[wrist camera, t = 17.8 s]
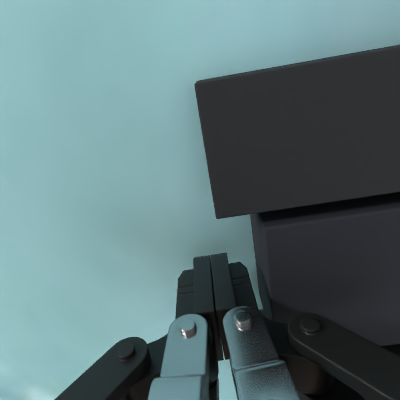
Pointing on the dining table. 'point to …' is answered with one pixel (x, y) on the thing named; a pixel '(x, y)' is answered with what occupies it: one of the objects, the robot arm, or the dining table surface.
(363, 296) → the small black block
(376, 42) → the dining table surface
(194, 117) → the dining table surface
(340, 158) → the large dark u-shaped block
